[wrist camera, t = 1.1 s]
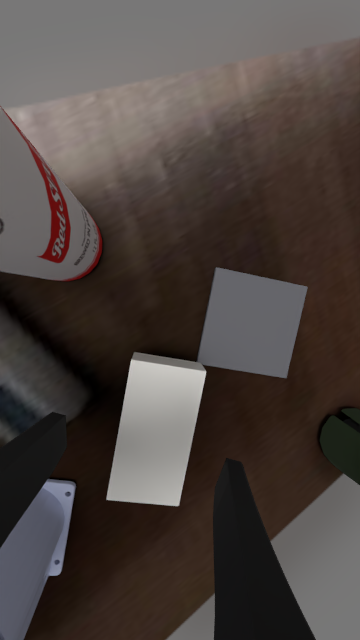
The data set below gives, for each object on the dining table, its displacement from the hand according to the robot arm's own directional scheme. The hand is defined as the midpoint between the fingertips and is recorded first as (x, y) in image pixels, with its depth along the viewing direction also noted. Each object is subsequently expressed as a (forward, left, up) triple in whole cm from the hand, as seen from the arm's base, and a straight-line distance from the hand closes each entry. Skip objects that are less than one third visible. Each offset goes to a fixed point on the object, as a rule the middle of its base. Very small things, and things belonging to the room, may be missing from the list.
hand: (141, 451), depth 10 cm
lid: (-3, -1, -8) cm, 8 cm away
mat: (+6, -9, -12) cm, 16 cm away
